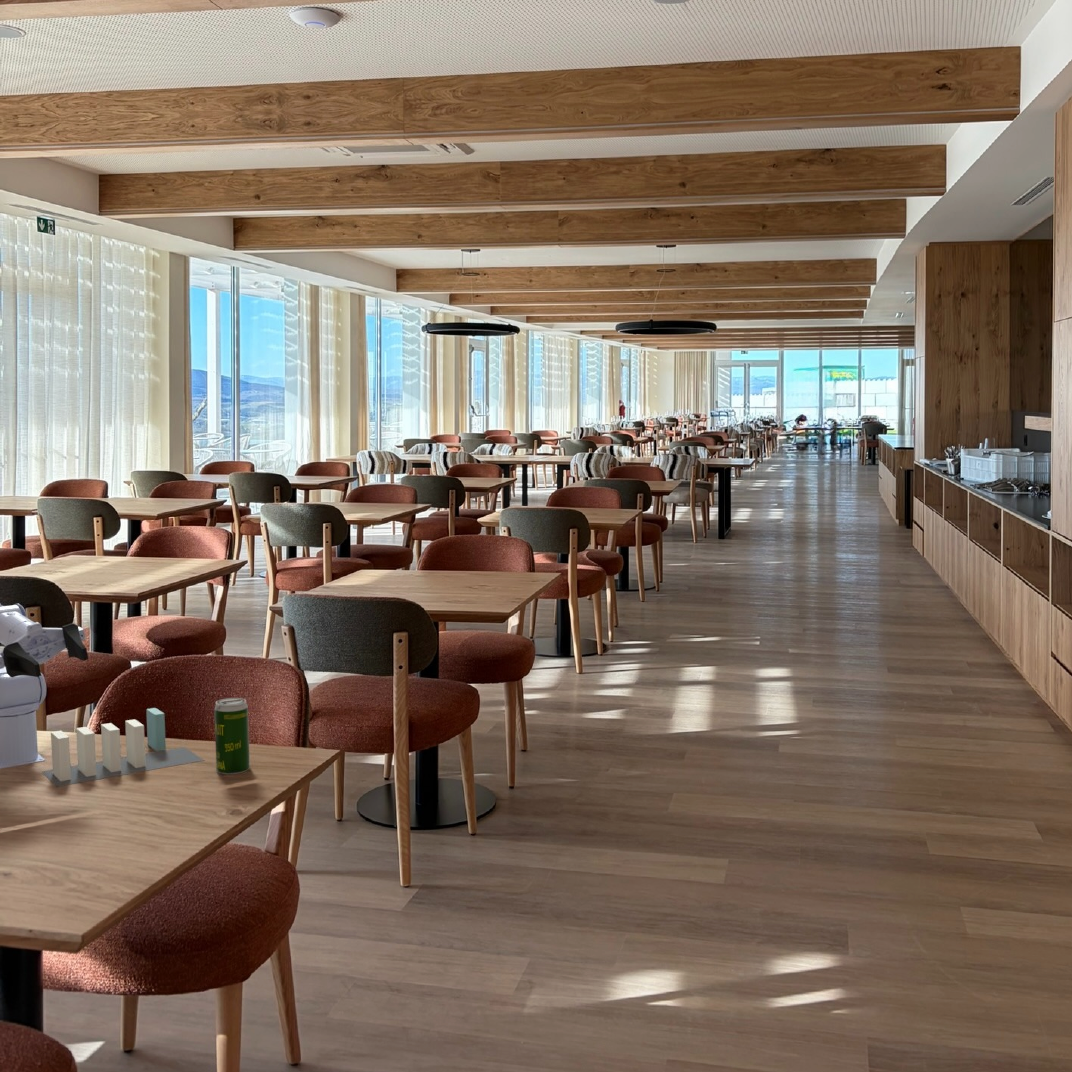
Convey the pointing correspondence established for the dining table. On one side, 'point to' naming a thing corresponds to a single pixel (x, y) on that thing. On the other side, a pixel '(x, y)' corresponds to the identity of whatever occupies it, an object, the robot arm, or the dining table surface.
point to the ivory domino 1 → (60, 755)
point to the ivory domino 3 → (111, 747)
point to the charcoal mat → (129, 766)
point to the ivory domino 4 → (135, 743)
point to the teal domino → (156, 729)
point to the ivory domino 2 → (86, 751)
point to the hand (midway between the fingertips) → (62, 662)
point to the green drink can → (232, 736)
